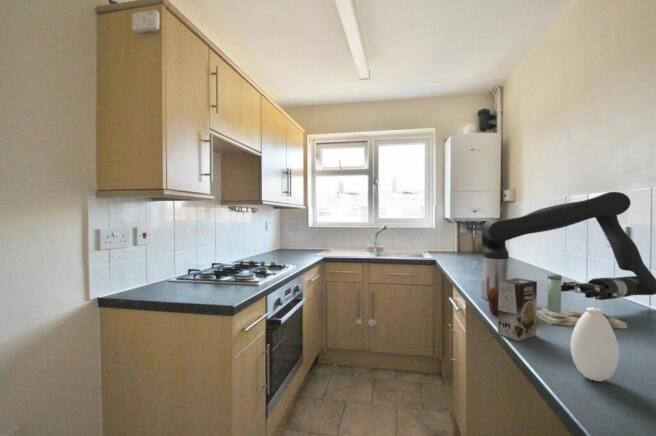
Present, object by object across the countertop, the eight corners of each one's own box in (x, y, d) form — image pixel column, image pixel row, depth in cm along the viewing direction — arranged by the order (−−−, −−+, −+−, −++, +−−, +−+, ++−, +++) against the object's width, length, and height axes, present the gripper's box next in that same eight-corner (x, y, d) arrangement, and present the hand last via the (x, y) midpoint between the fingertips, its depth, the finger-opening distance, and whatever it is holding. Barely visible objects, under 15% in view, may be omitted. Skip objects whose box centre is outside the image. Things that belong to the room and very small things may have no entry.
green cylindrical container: (550, 316, 101) (550, 276, 101) (541, 310, 106) (541, 273, 106) (567, 317, 100) (567, 277, 100) (557, 311, 106) (557, 274, 105)
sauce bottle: (573, 366, 72) (574, 290, 72) (619, 379, 66) (620, 296, 66) (567, 378, 66) (568, 296, 66) (616, 394, 61) (617, 304, 60)
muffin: (531, 319, 104) (532, 289, 104) (502, 321, 102) (502, 291, 102) (506, 308, 116) (506, 282, 115) (479, 310, 114) (479, 283, 114)
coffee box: (518, 342, 86) (519, 284, 85) (496, 333, 91) (497, 280, 91) (537, 335, 90) (538, 281, 90) (515, 328, 95) (515, 277, 95)
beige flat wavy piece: (549, 324, 99) (549, 319, 99) (533, 314, 109) (533, 309, 109) (627, 328, 95) (627, 323, 95) (603, 317, 105) (603, 313, 105)
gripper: (585, 274, 117) (553, 276, 112) (631, 282, 103) (596, 285, 99) (585, 293, 117) (552, 296, 112) (630, 304, 103) (595, 308, 99)
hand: (573, 291), depth 105 cm, fingers open, 8 cm apart
